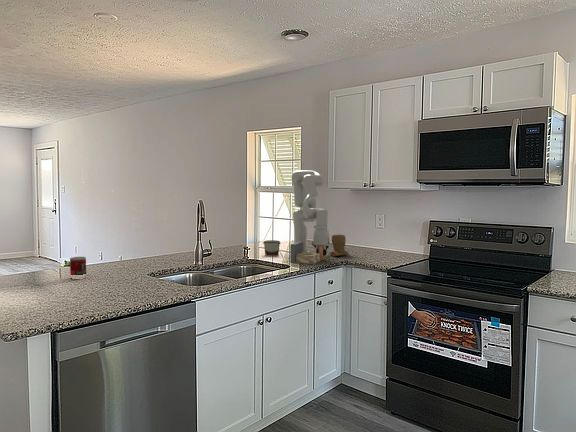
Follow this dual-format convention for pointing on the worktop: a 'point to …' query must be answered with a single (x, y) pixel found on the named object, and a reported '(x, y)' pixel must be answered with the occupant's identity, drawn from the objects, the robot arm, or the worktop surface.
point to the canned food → (77, 265)
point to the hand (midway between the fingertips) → (321, 254)
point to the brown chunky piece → (338, 245)
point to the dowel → (321, 251)
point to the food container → (271, 247)
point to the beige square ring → (308, 258)
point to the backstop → (295, 251)
